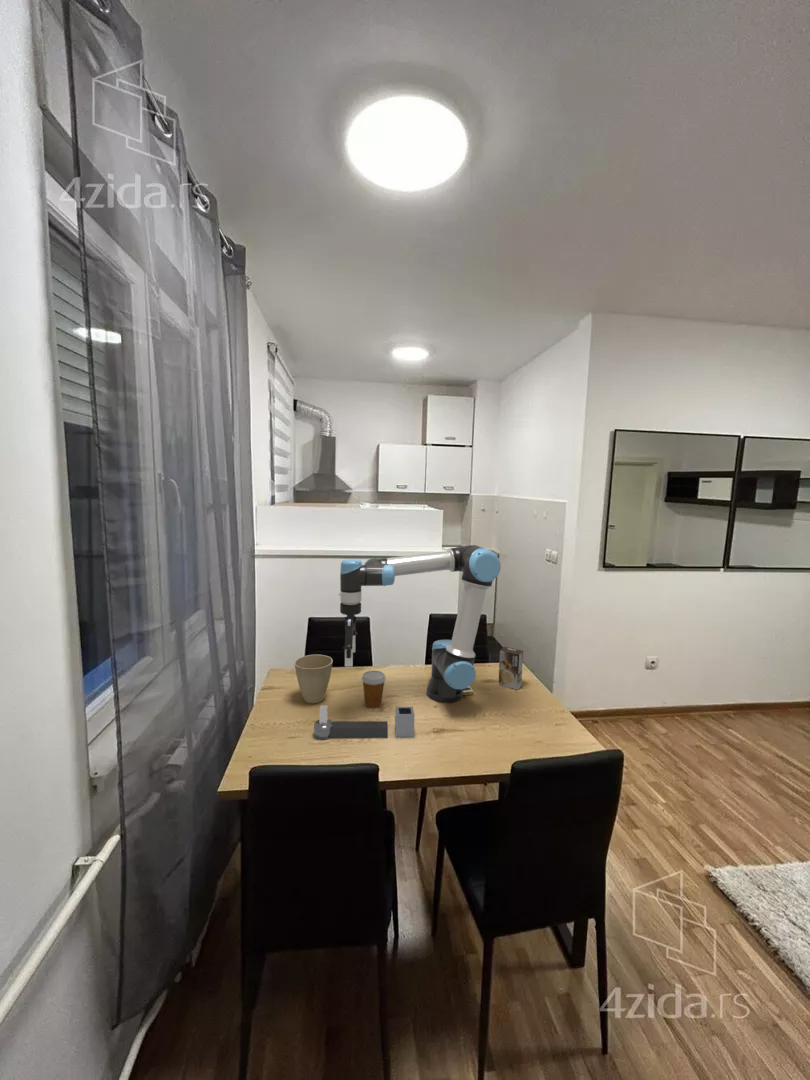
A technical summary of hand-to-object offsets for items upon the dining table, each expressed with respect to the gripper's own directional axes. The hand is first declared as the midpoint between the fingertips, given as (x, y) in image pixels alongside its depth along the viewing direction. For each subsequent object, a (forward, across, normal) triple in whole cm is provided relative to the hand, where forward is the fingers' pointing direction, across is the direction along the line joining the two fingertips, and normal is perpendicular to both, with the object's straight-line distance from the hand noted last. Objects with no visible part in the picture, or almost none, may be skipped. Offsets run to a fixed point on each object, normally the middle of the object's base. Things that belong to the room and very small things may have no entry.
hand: (350, 658), depth 160 cm
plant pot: (+23, -14, -16) cm, 31 cm away
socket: (+23, +10, +20) cm, 32 cm away
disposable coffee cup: (+23, -11, +8) cm, 27 cm away
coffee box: (+24, -29, +69) cm, 79 cm away
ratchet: (+23, +12, +1) cm, 25 cm away
